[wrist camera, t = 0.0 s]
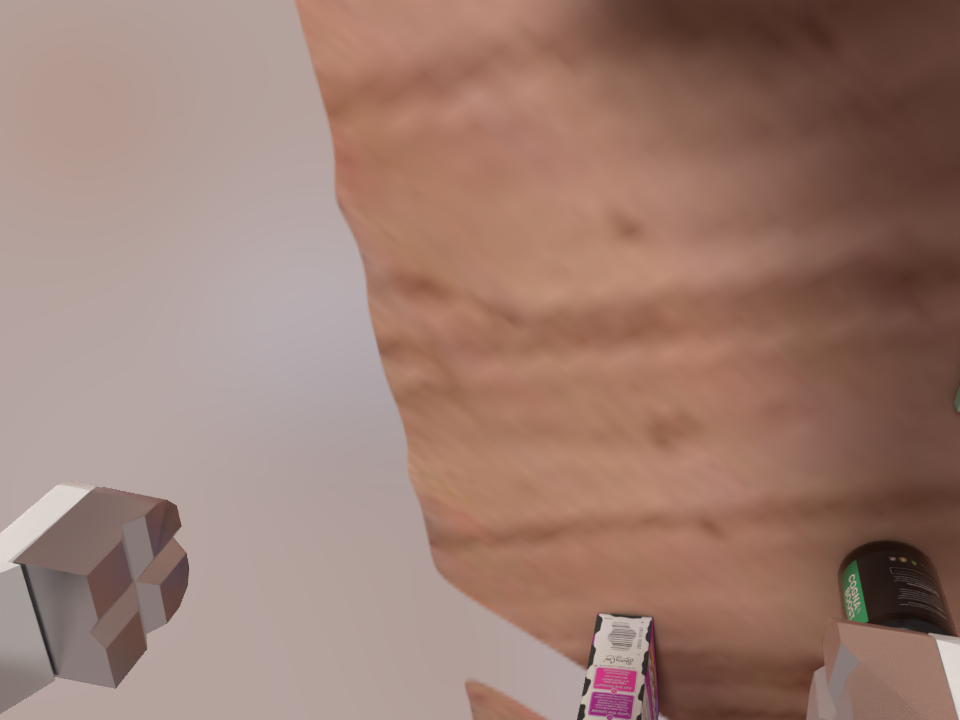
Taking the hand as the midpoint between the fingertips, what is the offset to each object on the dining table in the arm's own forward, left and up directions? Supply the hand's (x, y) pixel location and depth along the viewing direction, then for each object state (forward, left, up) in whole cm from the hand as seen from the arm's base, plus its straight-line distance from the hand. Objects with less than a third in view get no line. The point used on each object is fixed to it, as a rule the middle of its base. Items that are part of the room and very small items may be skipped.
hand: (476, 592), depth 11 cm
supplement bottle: (+36, +20, -48) cm, 64 cm away
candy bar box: (+50, +2, -48) cm, 70 cm away
